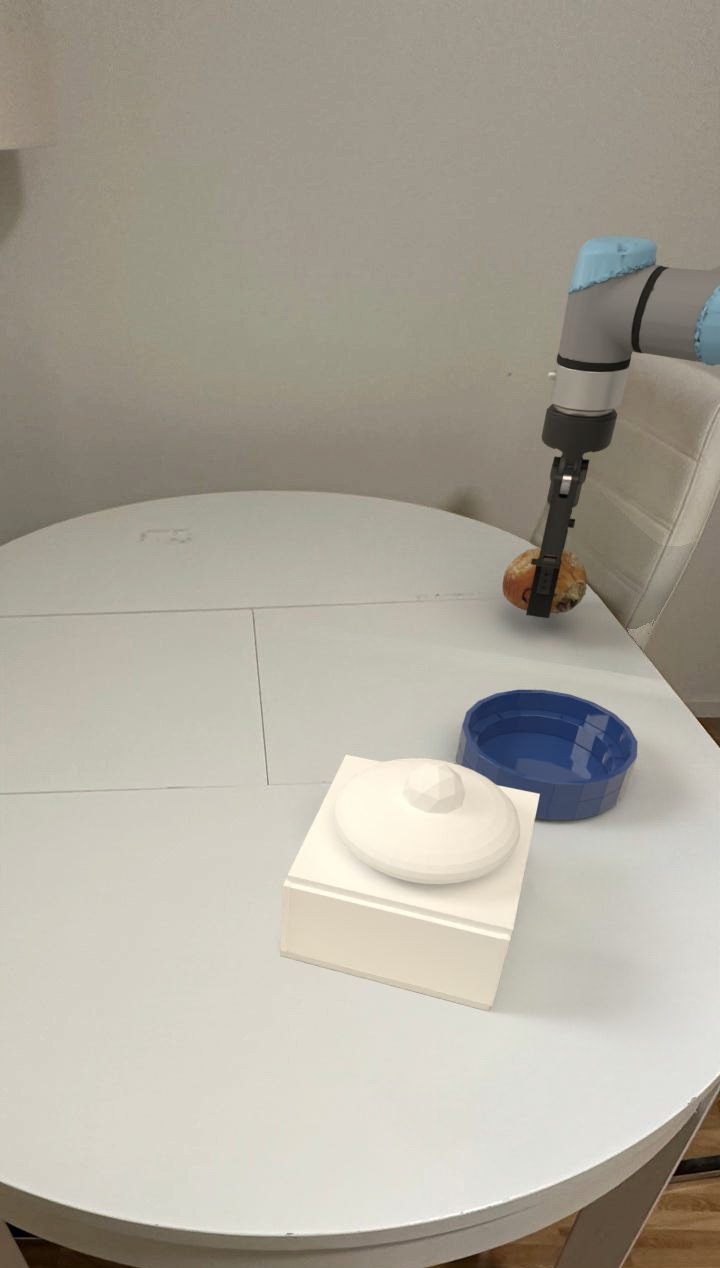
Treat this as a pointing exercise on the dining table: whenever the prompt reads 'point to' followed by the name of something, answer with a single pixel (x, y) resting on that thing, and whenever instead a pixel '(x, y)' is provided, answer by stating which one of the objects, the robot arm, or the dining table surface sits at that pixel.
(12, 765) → the dining table surface
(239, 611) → the dining table surface
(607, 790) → the bowl
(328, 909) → the white lidded square jar
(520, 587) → the bread roll
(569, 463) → the robot arm
